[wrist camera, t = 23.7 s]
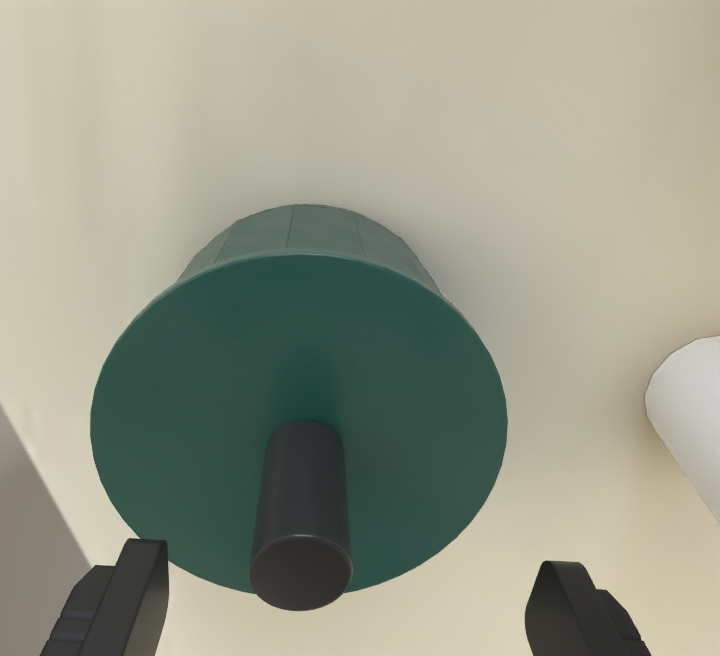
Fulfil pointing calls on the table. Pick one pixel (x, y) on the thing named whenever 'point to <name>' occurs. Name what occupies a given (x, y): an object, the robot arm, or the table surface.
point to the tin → (310, 238)
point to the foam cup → (691, 414)
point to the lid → (299, 424)
